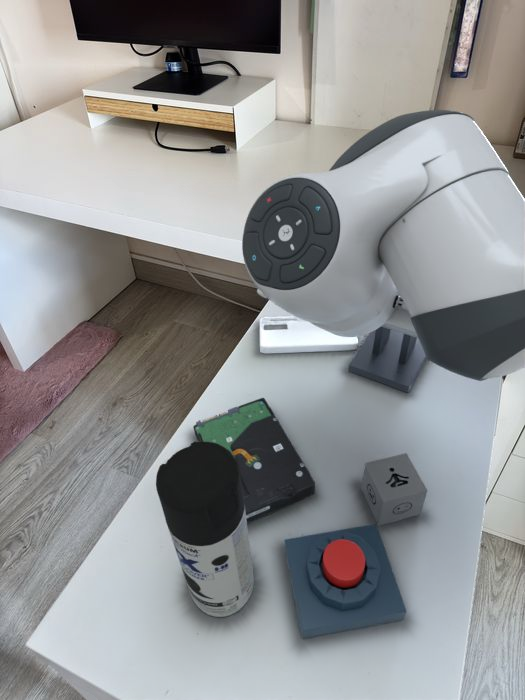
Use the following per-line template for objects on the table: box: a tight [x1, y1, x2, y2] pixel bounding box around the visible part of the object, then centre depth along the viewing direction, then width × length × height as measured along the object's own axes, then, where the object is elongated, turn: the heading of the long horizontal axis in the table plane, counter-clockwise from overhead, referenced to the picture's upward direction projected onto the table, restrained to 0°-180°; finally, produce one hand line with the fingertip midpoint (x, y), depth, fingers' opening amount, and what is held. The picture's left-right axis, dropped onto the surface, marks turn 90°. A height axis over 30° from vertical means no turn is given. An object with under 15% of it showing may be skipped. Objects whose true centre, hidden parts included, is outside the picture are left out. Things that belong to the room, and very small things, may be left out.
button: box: [322, 540, 365, 588], centre depth 49 cm, size 4×4×2 cm
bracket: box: [348, 327, 427, 393], centre depth 71 cm, size 12×9×13 cm
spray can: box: [155, 441, 255, 618], centre depth 45 cm, size 7×7×20 cm
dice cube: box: [360, 452, 428, 527], centre depth 57 cm, size 5×5×5 cm
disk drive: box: [193, 397, 316, 524], centre depth 62 cm, size 10×3×15 cm
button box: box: [283, 523, 407, 640], centre depth 50 cm, size 10×9×4 cm
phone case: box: [259, 315, 359, 354], centre depth 79 cm, size 7×1×15 cm
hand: (376, 311), depth 58 cm, fingers open, 8 cm apart
